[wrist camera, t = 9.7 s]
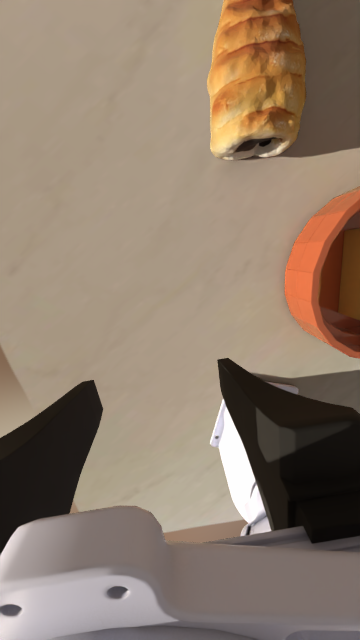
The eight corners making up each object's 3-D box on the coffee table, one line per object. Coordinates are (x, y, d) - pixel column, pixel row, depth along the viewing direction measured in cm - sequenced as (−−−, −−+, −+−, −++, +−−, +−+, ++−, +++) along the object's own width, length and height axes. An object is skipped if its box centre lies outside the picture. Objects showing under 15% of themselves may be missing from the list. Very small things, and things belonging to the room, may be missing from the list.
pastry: (197, 5, 14) (208, -79, 11) (296, -5, 14) (339, -91, 11) (208, 167, 17) (219, 145, 14) (290, 158, 17) (323, 133, 14)
